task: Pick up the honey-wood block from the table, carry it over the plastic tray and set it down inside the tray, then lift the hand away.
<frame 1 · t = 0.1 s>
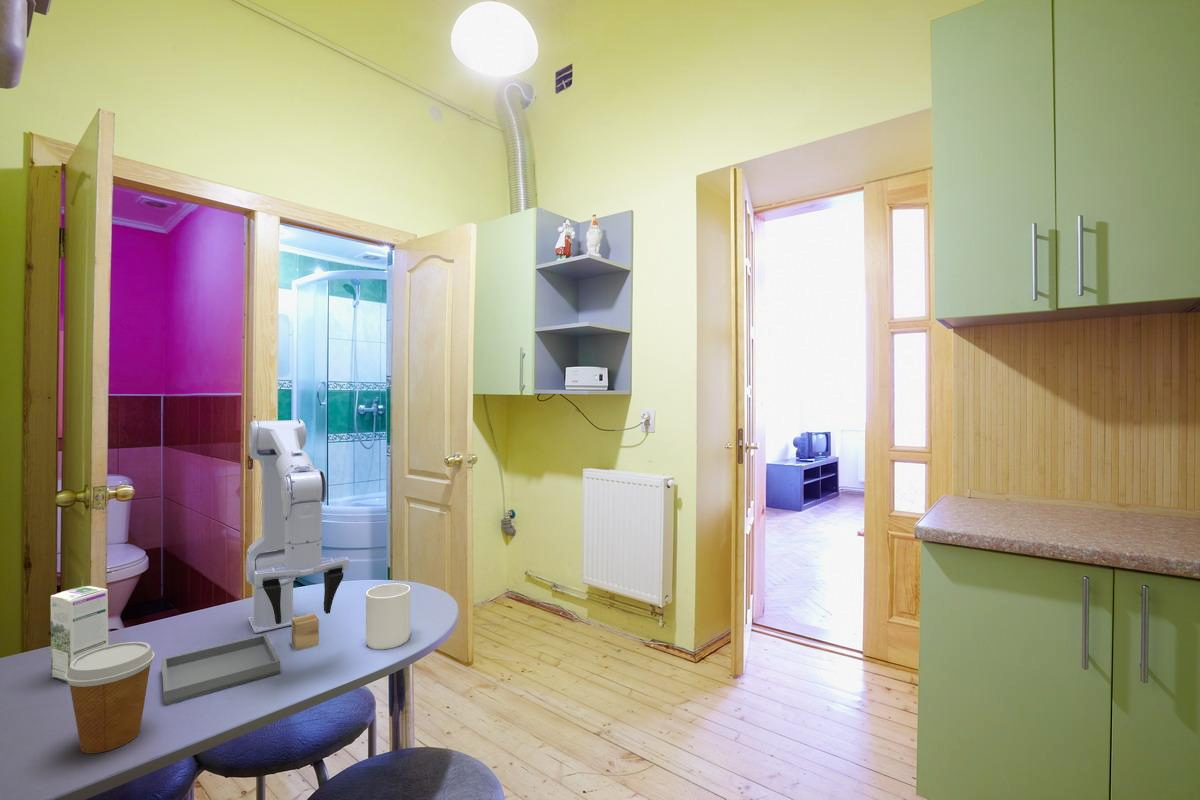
hand: (303, 616, 96), 10 cm above the table, tool pointing down, fingers open, 7 cm apart
tray: (220, 672, 96), on the table
syrup box: (80, 674, 96), on the table
block: (305, 644, 108), on the table
cup: (384, 638, 111), on the table
disposable coffee cup: (111, 740, 77), on the table
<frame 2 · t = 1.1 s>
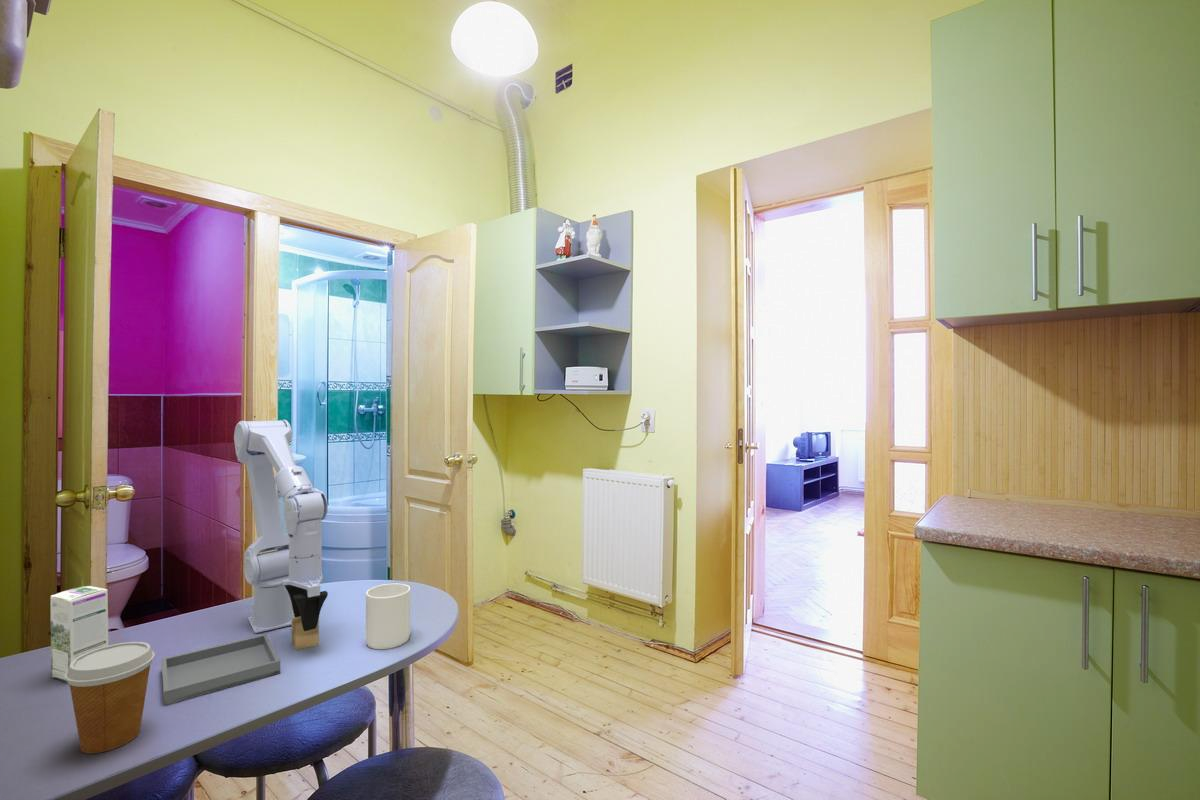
hand: (305, 623, 107), 4 cm above the table, tool pointing down, fingers open, 7 cm apart
nothing on the table moved.
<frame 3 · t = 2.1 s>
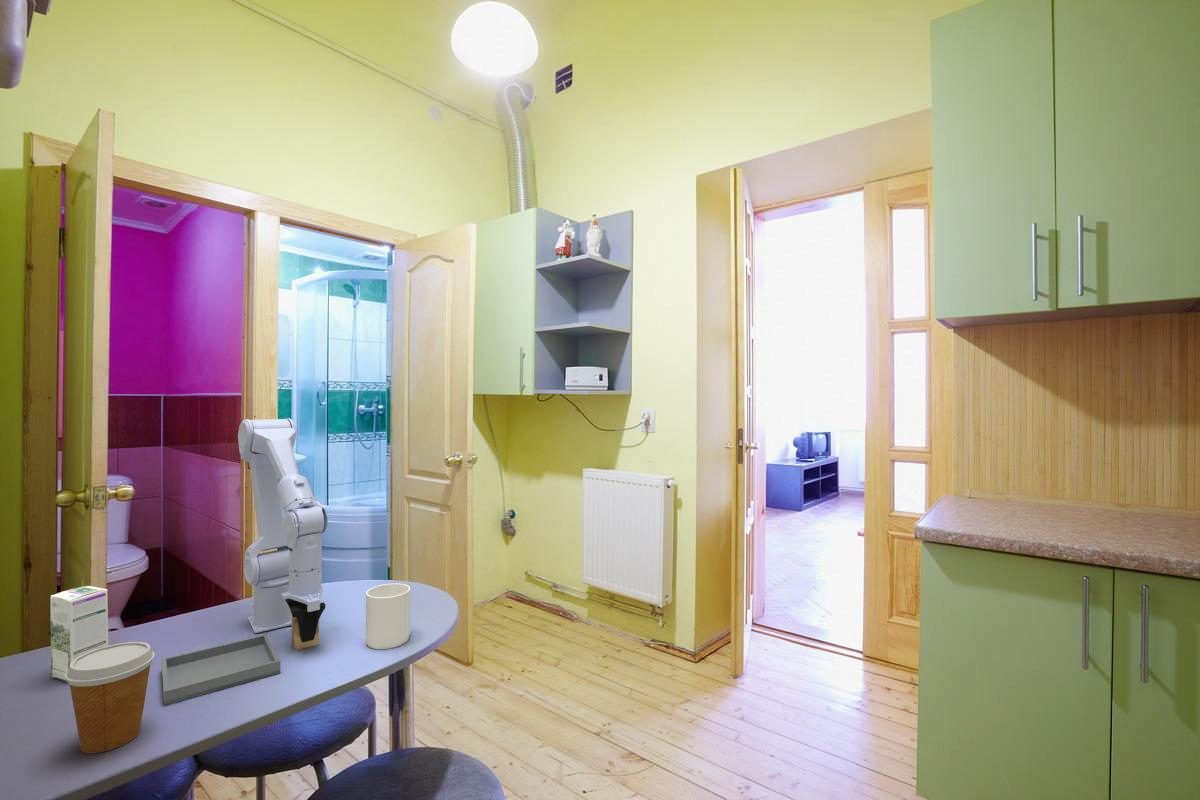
hand: (305, 636, 108), 1 cm above the table, tool pointing down, fingers closed on block, 4 cm apart
block: (305, 643, 108), on the table, touching gripper
everything else where it was.
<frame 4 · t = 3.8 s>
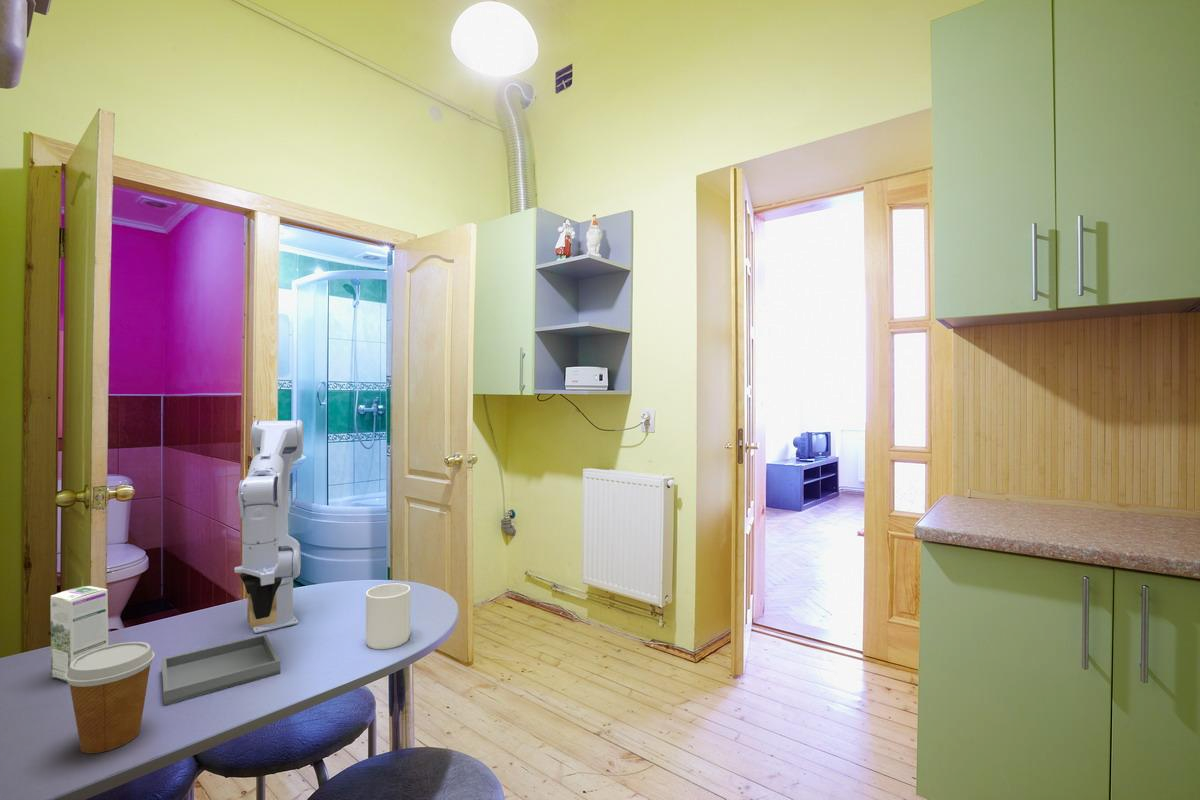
hand: (260, 613, 101), 8 cm above the table, tool pointing down, fingers closed on block, 4 cm apart
block: (261, 621, 101), point 7 cm above the table, touching gripper
everything else where it was.
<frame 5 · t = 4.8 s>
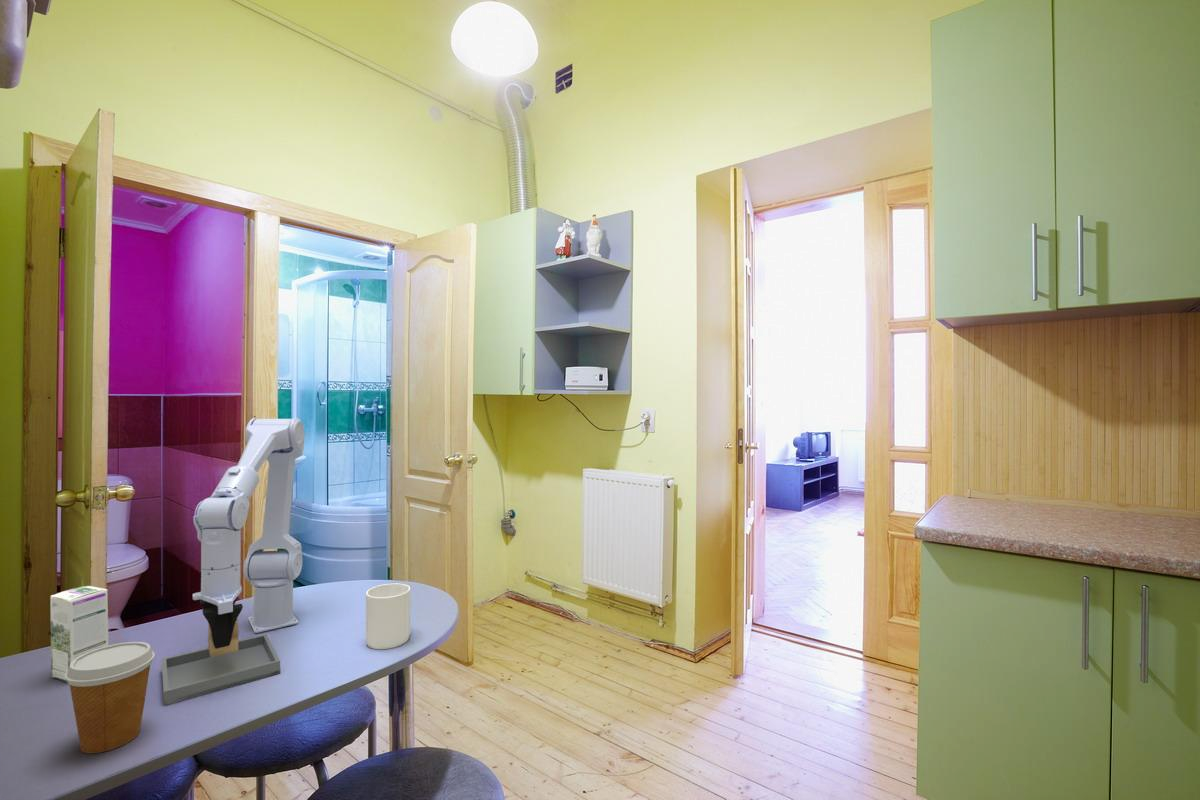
hand: (220, 641, 96), 5 cm above the table, tool pointing down, fingers closed on block, 4 cm apart
block: (223, 650, 96), point 4 cm above the table, touching gripper
everything else where it was.
when the fingers open (4 cm above the table, at t = 5.5 s): block drops 1 cm, resting on tray.
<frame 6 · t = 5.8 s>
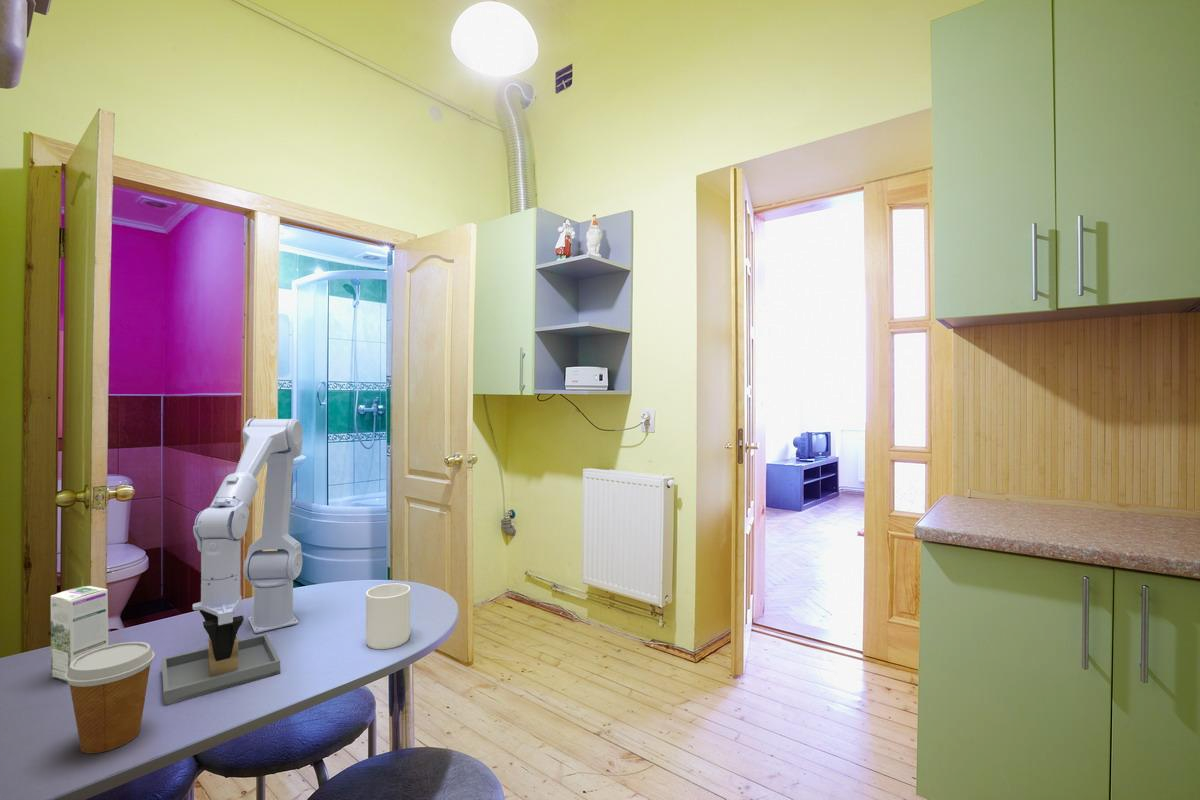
hand: (220, 651, 96), 4 cm above the table, tool pointing down, fingers open, 6 cm apart
block: (223, 668, 97), point 1 cm above the table, touching tray
everything else where it was.
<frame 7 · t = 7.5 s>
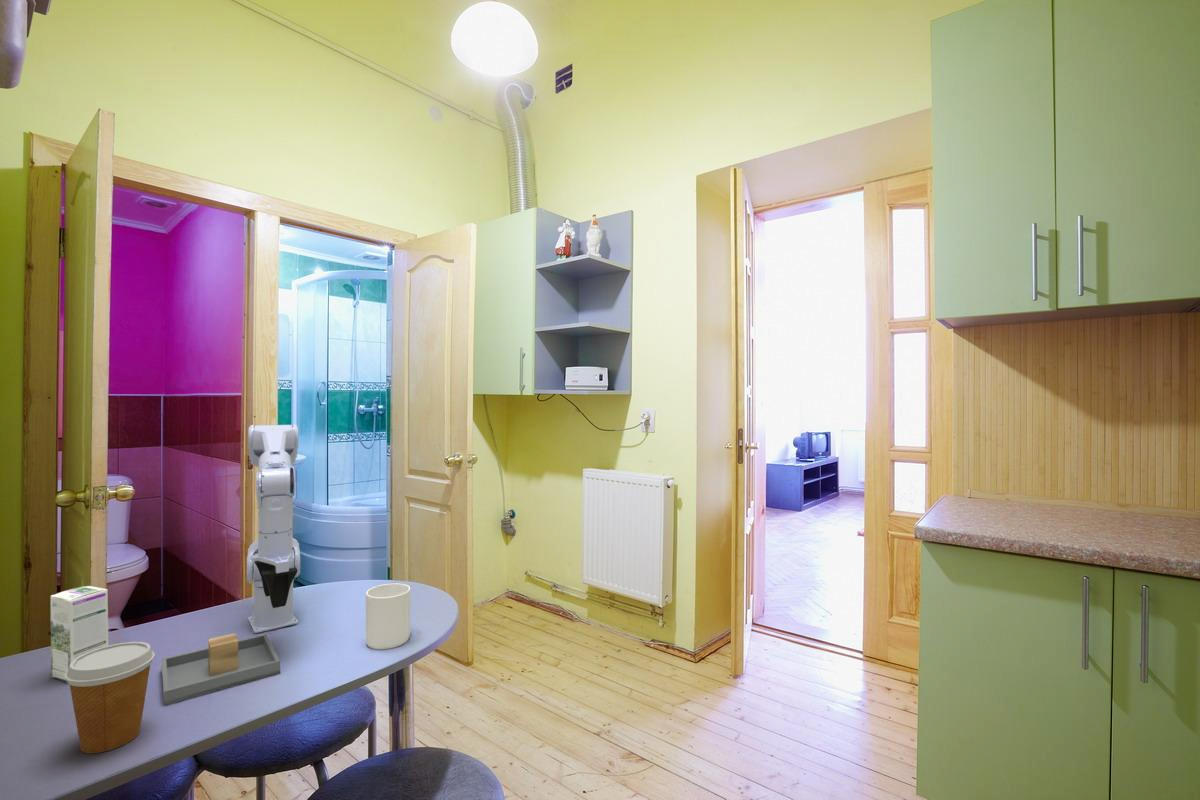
hand: (275, 600, 105), 9 cm above the table, tool pointing down, fingers open, 7 cm apart
nothing on the table moved.
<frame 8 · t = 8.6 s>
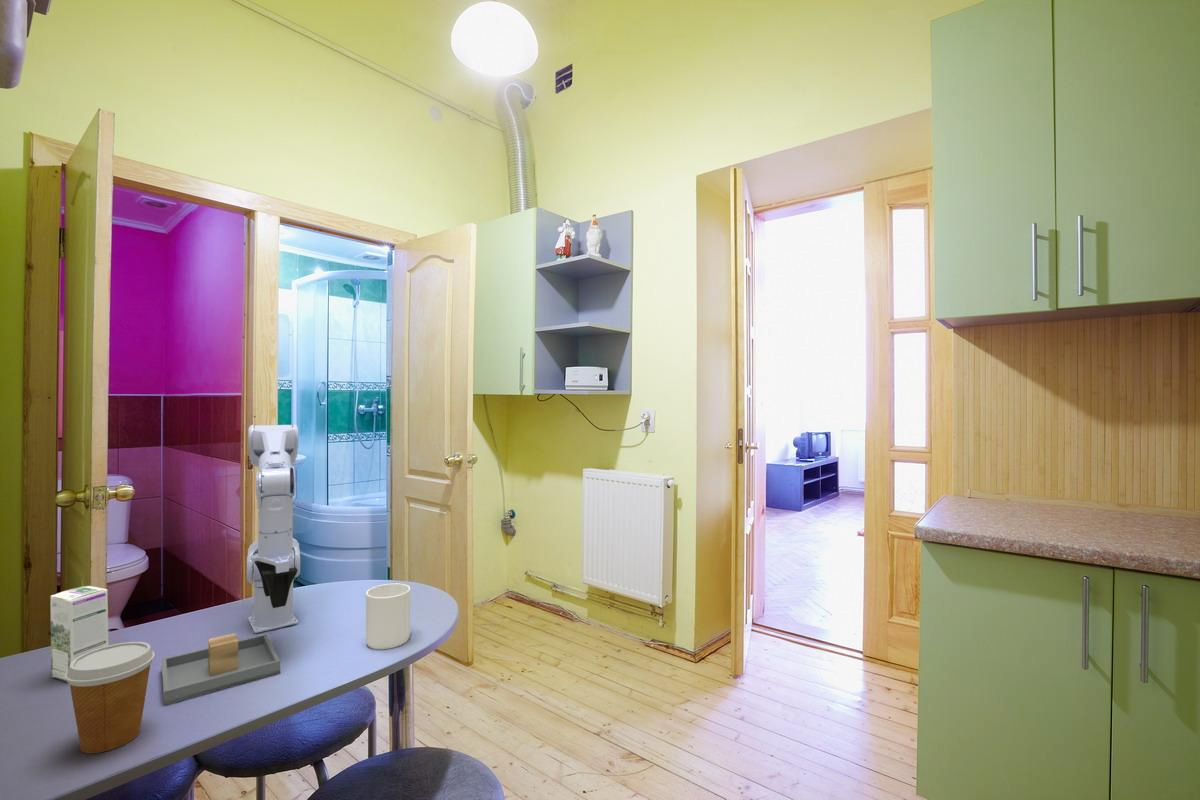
hand: (275, 600, 105), 9 cm above the table, tool pointing down, fingers open, 7 cm apart
nothing on the table moved.
at the end: block inside the target area on the tray (0.3 cm from its centre), point 0.6 cm above the tray's base; block tilted 0°; the gripper is holding nothing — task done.
